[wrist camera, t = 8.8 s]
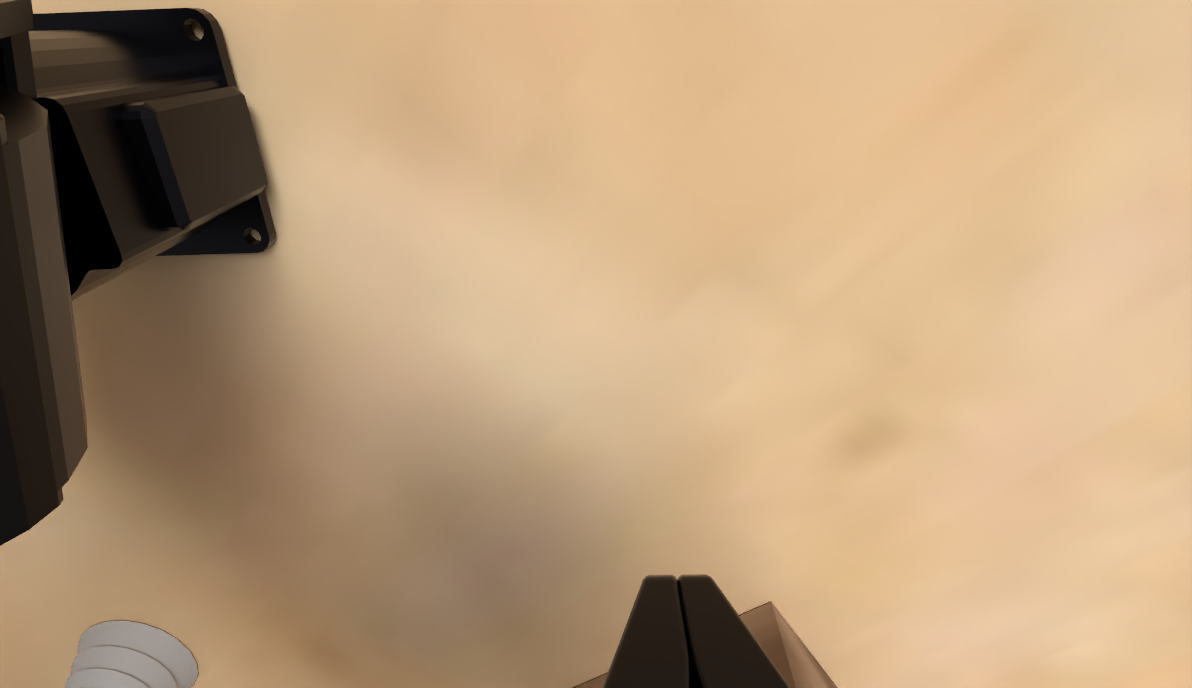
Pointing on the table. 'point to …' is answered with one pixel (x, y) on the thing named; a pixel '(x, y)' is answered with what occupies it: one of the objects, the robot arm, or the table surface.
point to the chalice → (131, 658)
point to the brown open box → (774, 650)
